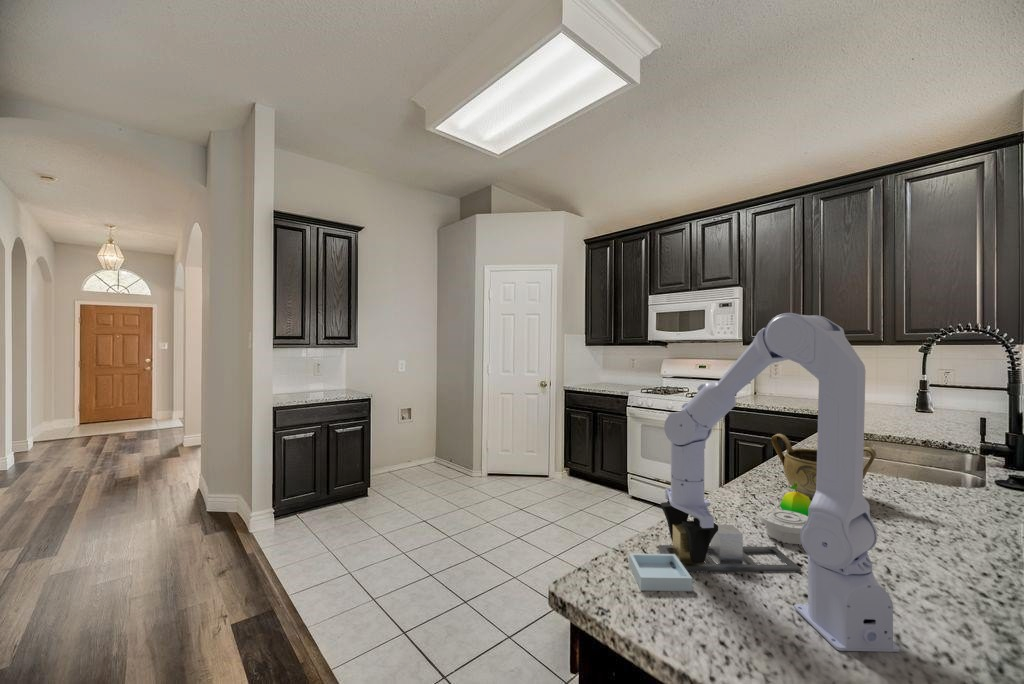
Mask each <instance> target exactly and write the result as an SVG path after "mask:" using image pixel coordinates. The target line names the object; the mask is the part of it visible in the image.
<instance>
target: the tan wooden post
mask: <svg viewBox="0 0 1024 684" xmlns="http://www.w3.org/2000/svg"><path fill="white" fill-rule="evenodd" d="M672 545H673V553H672V554H675V555H676V556H677V558H678V559H679V560H680V562H681V563H693V562H692V561H691V558H690V551H689V542H688V537H687V534H686V531H685V528H684V526H683V524H673V542H672ZM693 564H704V563H693Z"/></svg>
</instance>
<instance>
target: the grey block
mask: <svg viewBox="0 0 1024 684" xmlns="http://www.w3.org/2000/svg"><path fill="white" fill-rule="evenodd" d="M715 524H716V523H715ZM716 525H718V531H717V532H716V534H715V535H714V537H713V538H712V540H711V542H710V545H709V546H710V553H709V556H710V557H711V558H712V559H713V560H714V561H715V563H716V562H717V563H718V564H743V545H744V544H743V542H744V540H743V537H744V536H743V533H742V531H740V530H739V529H738V528H736V527H735V525H733V524H721V523H720V524H716ZM717 563H716V564H717Z"/></svg>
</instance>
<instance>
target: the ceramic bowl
mask: <svg viewBox="0 0 1024 684" xmlns="http://www.w3.org/2000/svg"><path fill="white" fill-rule="evenodd" d="M777 438H779V439H781V440H782V441H783V443H784V445H785V447H786V452H785V455H784V451H782V449H781V447H780V445H779V443H778V439H777ZM771 443H772V447H773V449H774V451H775V452H776V454H777V456H778V458H779V460H780V462H781V464H782V467H783V471H784V474H785V477H786V480H787V482H788V483H789V485H791V486H790V487H792V486H794V482H795V481H796V482H797V492H799V493H801V494H804V495H806V496H808V497H809V498H810V500H812V499H813V497H814V495H815V492H816V482H817V448H815V449H814V448H793V447H792V444H791V441H790V439H789V438H788V437H787V436H786V435H785V434H782V433H776V434H774V435H773V436H771ZM864 452H867V453H869V455H870V458H869V460H868V462H867V463H866V464H865V467H863V480H864V479H865V477H866V475H867V472H868V470H869V469H870V467H871V465H872V464H873V462H874V460H875V458H876V456H877V453H876V451H875V449H873V448H872V447H870V446H864Z"/></svg>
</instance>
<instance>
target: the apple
mask: <svg viewBox="0 0 1024 684" xmlns="http://www.w3.org/2000/svg"><path fill="white" fill-rule="evenodd" d="M787 488H788V489H790V490H795V491H790V492H789V491H788V492H787V493H785V494H784V495H783V497H782V498H781V502H780V503H779V506H780V510H787V511H792V512H796V513H800V514H803V515H806V516H808V510H809V506H810V503H811V501H812V499H811V498H809V497H808V496H806V495H804V494H801V493H799V492H798V491H797V482H796V481H795V482H794V486H788V487H787Z"/></svg>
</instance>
